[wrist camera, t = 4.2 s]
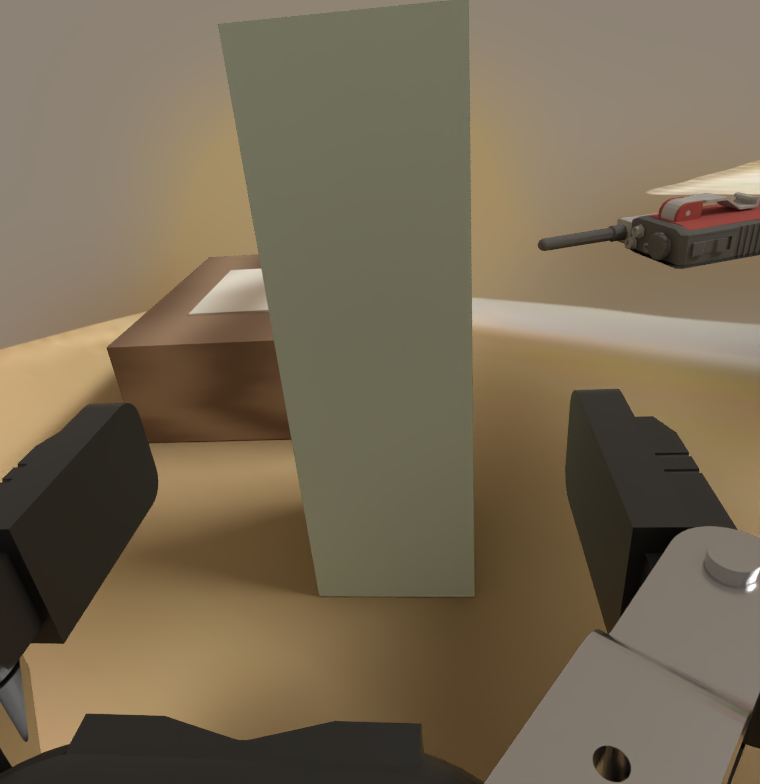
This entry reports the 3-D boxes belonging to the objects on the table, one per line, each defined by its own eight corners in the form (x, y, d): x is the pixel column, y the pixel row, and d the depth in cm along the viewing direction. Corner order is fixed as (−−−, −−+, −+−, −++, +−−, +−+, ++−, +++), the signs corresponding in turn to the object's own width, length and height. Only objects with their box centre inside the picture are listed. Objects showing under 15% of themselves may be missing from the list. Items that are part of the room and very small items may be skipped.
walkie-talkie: (732, 224, 56) (531, 258, 52) (741, 174, 54) (533, 205, 50) (816, 247, 48) (589, 288, 44) (831, 189, 46) (594, 227, 42)
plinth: (400, 321, 40) (395, 244, 38) (385, 436, 28) (376, 333, 26) (224, 329, 42) (209, 255, 39) (137, 442, 29) (105, 345, 27)
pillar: (467, 497, 24) (459, 15, 16) (474, 596, 19) (468, -3, 12) (340, 499, 24) (274, 33, 17) (319, 596, 20) (217, 23, 12)
